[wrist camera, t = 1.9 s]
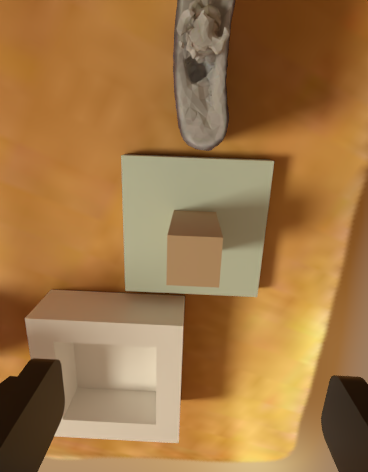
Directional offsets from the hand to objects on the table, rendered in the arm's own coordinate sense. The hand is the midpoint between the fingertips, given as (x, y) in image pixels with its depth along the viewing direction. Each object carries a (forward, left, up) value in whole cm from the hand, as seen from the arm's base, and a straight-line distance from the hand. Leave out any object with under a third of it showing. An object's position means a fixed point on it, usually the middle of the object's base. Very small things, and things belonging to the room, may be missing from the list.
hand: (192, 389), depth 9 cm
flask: (-11, 0, -17) cm, 20 cm away
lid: (0, 0, -16) cm, 16 cm away
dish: (+12, -6, -17) cm, 22 cm away
